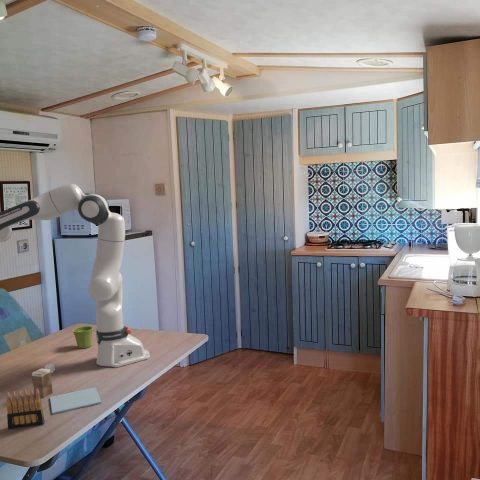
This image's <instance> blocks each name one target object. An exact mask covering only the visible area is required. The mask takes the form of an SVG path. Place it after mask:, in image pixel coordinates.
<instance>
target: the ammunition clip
mask: <svg viewBox="0 0 480 480" xmlns="http://www.w3.org/2000/svg"><path fill="white" fill-rule="evenodd" d="M17 392H18V393H17V394H16V392H15V391H12V395H11V394H10V392H9V391H7V392H6V397H5V399H6V413H7V414H6V416H7V417H6V419H7V430H14V429H23V428H30V427H37V426H44V424H45V417H44V410H43V405H42V398H41V397H40V394H39V390H38V389H36V397H34V390H33V389H30V390H29V394H28V391H27V390H26V389H24V392H23V395H22V392H21V390H18V391H17Z"/></svg>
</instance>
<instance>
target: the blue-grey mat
mask: <svg viewBox="0 0 480 480" xmlns="http://www.w3.org/2000/svg"><path fill="white" fill-rule="evenodd" d="M49 399H50V400H49V401H50V407H51V415H56V414H57V415H58V414H61V413H66V412H69V411H73V410H78V409H83V408H88V407H91V406H97V405H100V404H101V405H102V400H101V397H100V394H99V392H98V390H97V387H96V386H95V387H91V388H86V389H85V388H84V389H81V390H77V391H73V392H71V391H70V392H68V393H63V394H58V395H53V396H50V397H49Z"/></svg>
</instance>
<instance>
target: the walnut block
mask: <svg viewBox="0 0 480 480" xmlns="http://www.w3.org/2000/svg"><path fill="white" fill-rule="evenodd" d="M51 375H52V373H50V369H45V368H39V369H37V370H35V371H33V372H31V378H32V386H33V394H34V398H36V389H38V390H39V394H40V399H44V398H45V399H46V397H48V396H50V395H51V394H53V385H52V376H51Z"/></svg>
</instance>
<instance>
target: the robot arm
mask: <svg viewBox="0 0 480 480" xmlns="http://www.w3.org/2000/svg"><path fill="white" fill-rule="evenodd" d="M72 211H73V212H74V211H78V214H79V216H80V217H81V219H83V220H84V221H86V222H88V223H91V224H93V225H95V226H97V227H98V229H97V230H98V231H97V242H96V250H95V251H96V252H95V258H94V261H93V262H94V263H93V266H92V270H91V274H90V275H91V276H90V281H89V285H88V293H89V296H90V297H91V298H92V299H93V300H95V301H96V307H95V308H96V309H95V321H96V332H95V333H96V334H95V335H96V336H95V337H96V342H97V356H96V357H97V358H96V362H95V363H96V364H97V365H98V366H101V367H112V368H119V367H123V366H126V365H130V364H134V363H139V362H142V361H145V360H148V359H150V352H149V350H148V349H146V348H144V344H143V343H142V341H141V340H140V339H139V338H137V337H135V336H133V335H131V334H132V329H130V328H129V327H127V326H126V325H125V324H124V315H123V298H124V297H123V296H124V293H123V290H124V288H123V287H124V286H123V283H124V279H123V274H122V273H121V272H120V271H121V267H122V263H123V258H124V249H125V240H126V223H125V218H124V217H123V216H122V215H121V214H119V213H116V212H111V211H110V205H109V202H108V199H106V197H105V196H103V195H101V194H98V193H97V194H96V193H84V192H83V191H82V189H81V188H80V187H79V186H78V185H77V184H75V183H66V184H63V185H59V186H58V187H55V188H52V189H50V190H48V191H45V192H44V193H41V194H39V195H38V196H36V197H34V198H31V199H29V200H26V201H25V202H23V203H20V204H16V205H15V206H12V207H9V208H7V209H5V210H2V211H0V243H5V242H7V241H8V240H9V239H11V236H12V233H13V228H12V226H13V225H17V224H18V223H20V222H24V221H30V220H31V221H32V220H34V221H35V220H40V221H49V220H53V219H57V218H60V217H61V216H64V215H66V214H68V213H70V212H72Z"/></svg>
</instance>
